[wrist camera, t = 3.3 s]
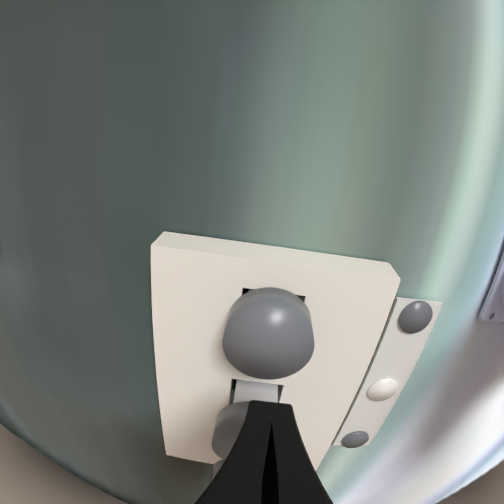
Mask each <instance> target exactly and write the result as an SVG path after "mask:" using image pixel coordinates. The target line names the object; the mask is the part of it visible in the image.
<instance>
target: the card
mask: <svg viewBox="0 0 504 504" xmlns="http://www.w3.org/2000/svg"><path fill="white" fill-rule="evenodd" d="M441 306H442V303H441V302H438V301H428V300H419V299H409V298H400V297H396V298H395V301H394V304H393V307H392V310H391V312H390V315H389V318H388V321H387V323H386V326H385V329H384V331H383V334H382V336H381V339H380V342H379V344H378V347H377V349H376V351H375V354H374V356H373V359H372V361H371V363H370V366H369V368H368V370H367V373H366V375H365V377H364V380H363V382H362V384H361V386H360V388H359V391H358V393H357V395H356V397H355V399H354V401H353V403H352V405H351V407H350V410H349V412H348V414H347V416H346V418H345V420H344V422H343V424H342V425H341V427H340V429H339V431H338V433H337V435H336V437H335V439H334V441H333V445H336V446H344V447H347V448H356V447H359V446H362V445H369V444H370V443H371V441H372V440H373V438H374V436H375V435H376V433H377V432H378V430H379V429H380V427H381V425H382V424H383V422H384V420H385V419H386V417H387V415H388V414H389V412H390V410H391V409H392V407H393V405H394V403H395V402H396V400H397V398H398V396H399V395H400V393H401V391H402V389H403V387H404V385H405V384H406V382H407V380H408V378H409V376H410V374H411V372H412V370H413V368H414V366H415V364H416V362H417V360H418V358H419V356H420V354H421V352H422V350H423V348H424V346H425V343H426V341H427V339H428V337H429V335H430V332H431V330H432V328H433V325H434V323H435V321H436V318H437V316H438V314H439V311H440V309H441Z"/></svg>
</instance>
